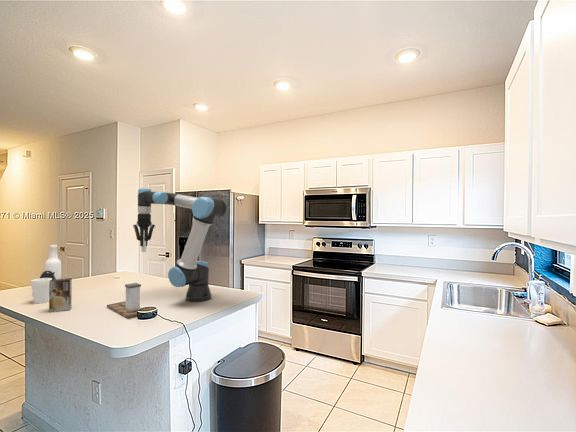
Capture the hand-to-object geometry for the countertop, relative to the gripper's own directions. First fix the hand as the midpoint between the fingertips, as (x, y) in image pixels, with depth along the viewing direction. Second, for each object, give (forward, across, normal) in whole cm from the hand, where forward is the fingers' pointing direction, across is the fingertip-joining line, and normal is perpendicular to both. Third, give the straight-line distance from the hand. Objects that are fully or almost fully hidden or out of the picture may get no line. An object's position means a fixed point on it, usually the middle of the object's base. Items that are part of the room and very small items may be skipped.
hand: (143, 251), depth 188 cm
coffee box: (+29, +40, -6) cm, 50 cm away
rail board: (+28, +17, +21) cm, 39 cm away
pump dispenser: (+29, +38, -50) cm, 69 cm away
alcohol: (+29, +32, -65) cm, 78 cm away
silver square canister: (+27, +17, +28) cm, 42 cm away
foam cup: (+29, +44, -32) cm, 61 cm away
